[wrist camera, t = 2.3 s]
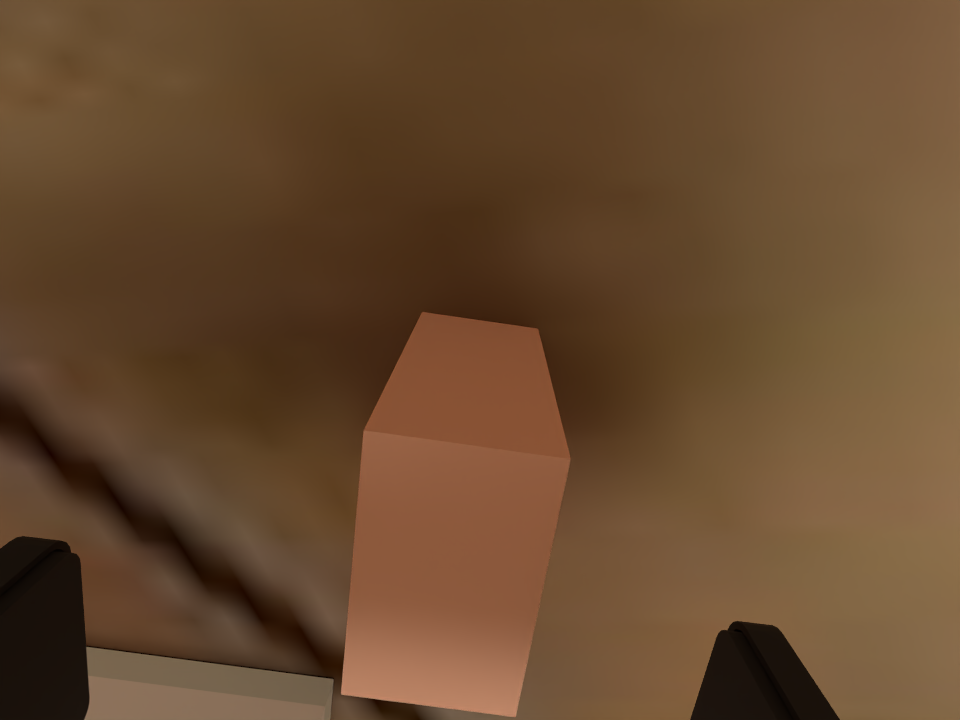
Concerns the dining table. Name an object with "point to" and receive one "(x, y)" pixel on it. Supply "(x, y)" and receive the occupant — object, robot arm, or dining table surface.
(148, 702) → the holder
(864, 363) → the dining table surface
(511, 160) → the dining table surface
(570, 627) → the dining table surface
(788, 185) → the dining table surface
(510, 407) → the block
